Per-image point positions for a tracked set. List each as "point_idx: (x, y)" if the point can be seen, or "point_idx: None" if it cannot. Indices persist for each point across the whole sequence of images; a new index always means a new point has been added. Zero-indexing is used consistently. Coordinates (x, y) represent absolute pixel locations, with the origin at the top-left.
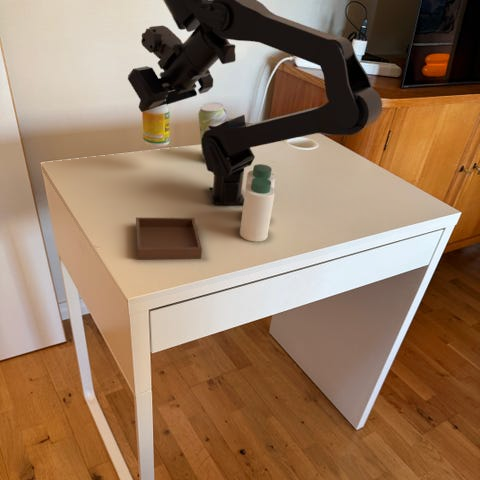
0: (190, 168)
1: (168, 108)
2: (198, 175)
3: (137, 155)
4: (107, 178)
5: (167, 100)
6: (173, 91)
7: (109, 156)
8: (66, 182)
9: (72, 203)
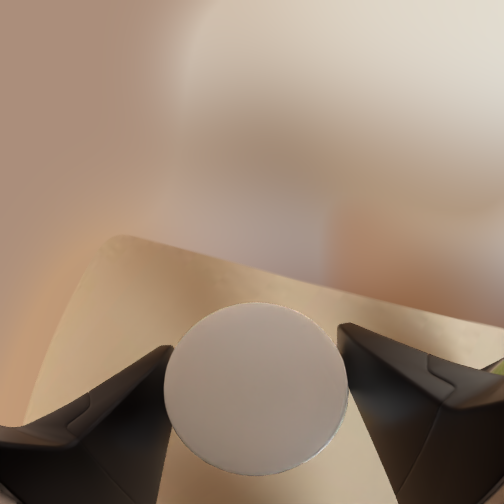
0: (358, 440)
1: (306, 461)
2: (341, 483)
3: (290, 296)
4: (134, 359)
5: (362, 398)
6: (407, 444)
7: (224, 265)
8: (74, 318)
9: (37, 386)
